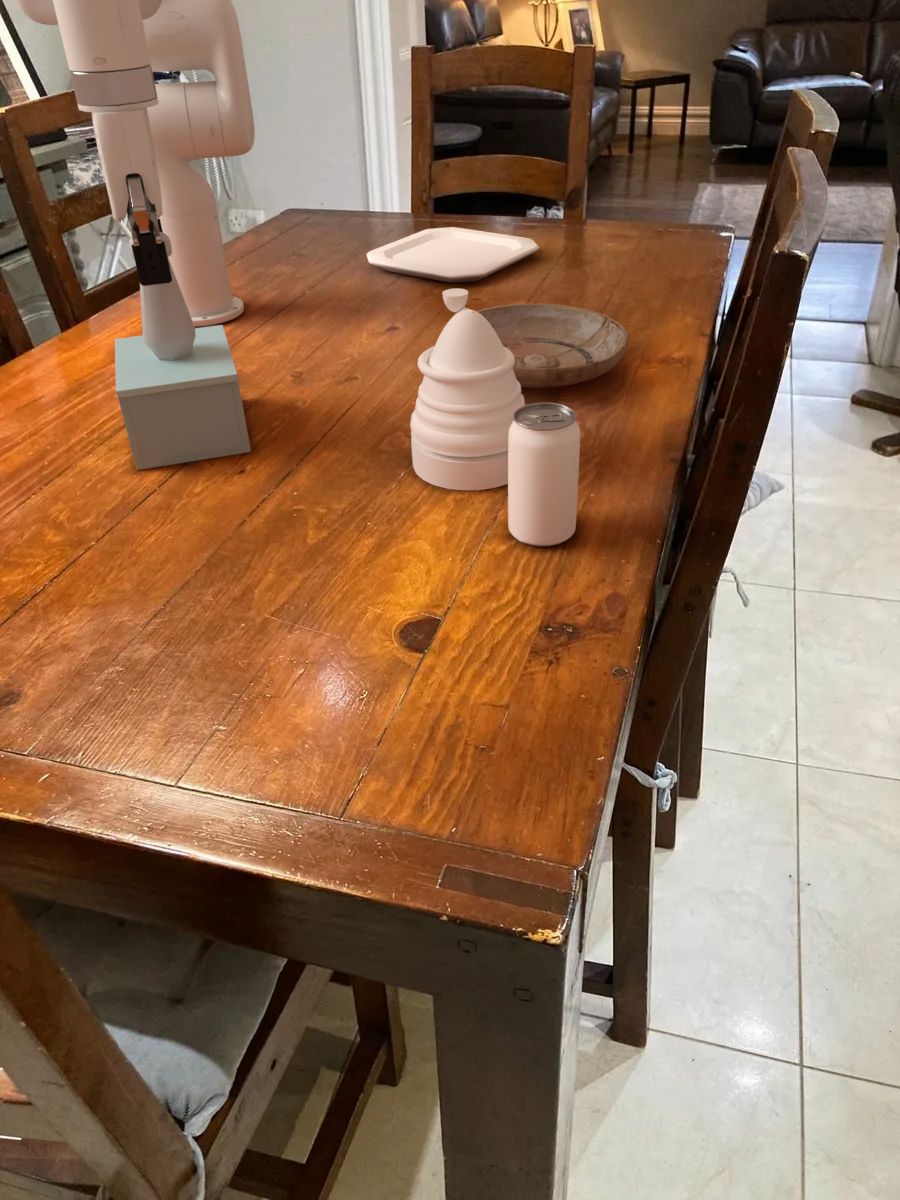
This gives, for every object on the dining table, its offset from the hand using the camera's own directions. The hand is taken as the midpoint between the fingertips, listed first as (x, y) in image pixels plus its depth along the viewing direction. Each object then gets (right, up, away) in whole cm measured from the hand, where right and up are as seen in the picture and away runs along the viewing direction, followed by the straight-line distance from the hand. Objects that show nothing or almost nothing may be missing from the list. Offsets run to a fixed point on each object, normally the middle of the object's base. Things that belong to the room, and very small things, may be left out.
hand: (154, 270), depth 100 cm
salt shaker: (0, -8, +6) cm, 10 cm away
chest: (+1, -15, +11) cm, 19 cm away
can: (+40, -29, -10) cm, 51 cm away
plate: (+32, +24, +64) cm, 75 cm away
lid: (+1, -8, +6) cm, 10 cm away
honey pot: (+34, -20, +2) cm, 40 cm away
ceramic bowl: (+43, -5, +23) cm, 49 cm away
